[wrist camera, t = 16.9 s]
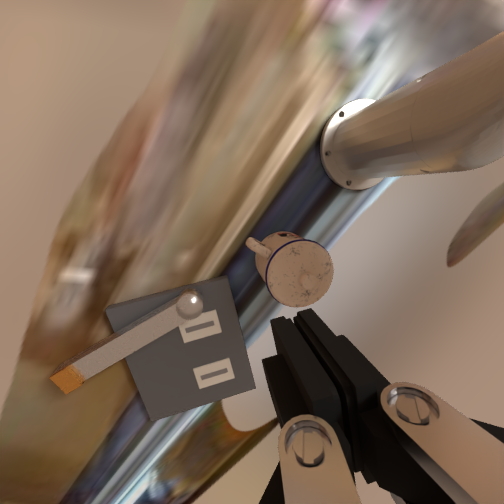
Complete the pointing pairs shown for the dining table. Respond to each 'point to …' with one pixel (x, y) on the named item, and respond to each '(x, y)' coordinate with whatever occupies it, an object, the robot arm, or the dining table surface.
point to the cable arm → (128, 340)
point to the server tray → (188, 352)
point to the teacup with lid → (293, 268)
